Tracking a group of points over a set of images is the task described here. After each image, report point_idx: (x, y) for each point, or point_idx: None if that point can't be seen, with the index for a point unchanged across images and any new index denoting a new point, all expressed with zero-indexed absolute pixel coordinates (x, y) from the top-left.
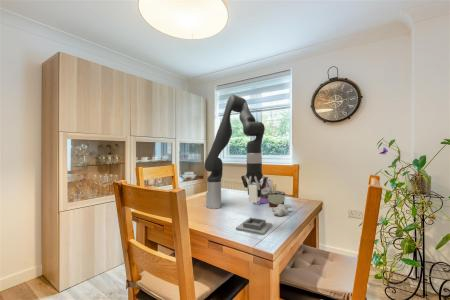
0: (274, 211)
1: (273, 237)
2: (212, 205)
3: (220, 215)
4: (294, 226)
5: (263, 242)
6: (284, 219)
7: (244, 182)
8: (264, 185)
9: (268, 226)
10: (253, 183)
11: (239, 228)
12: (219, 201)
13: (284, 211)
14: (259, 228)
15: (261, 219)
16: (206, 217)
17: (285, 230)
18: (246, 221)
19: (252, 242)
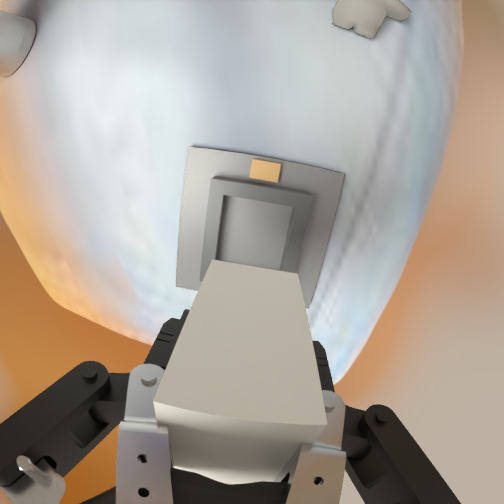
0: (337, 11)
1: (346, 308)
2: (2, 72)
3: (53, 129)
4: (435, 165)
5: None
6: (391, 71)
7: (79, 449)
8: (381, 469)
9: (327, 226)
10: (174, 406)
11: (193, 289)
12: (11, 41)
13: (390, 10)
14: None
15: (287, 194)
16: (24, 183)
17: (398, 225)
18: (208, 253)
19: None
